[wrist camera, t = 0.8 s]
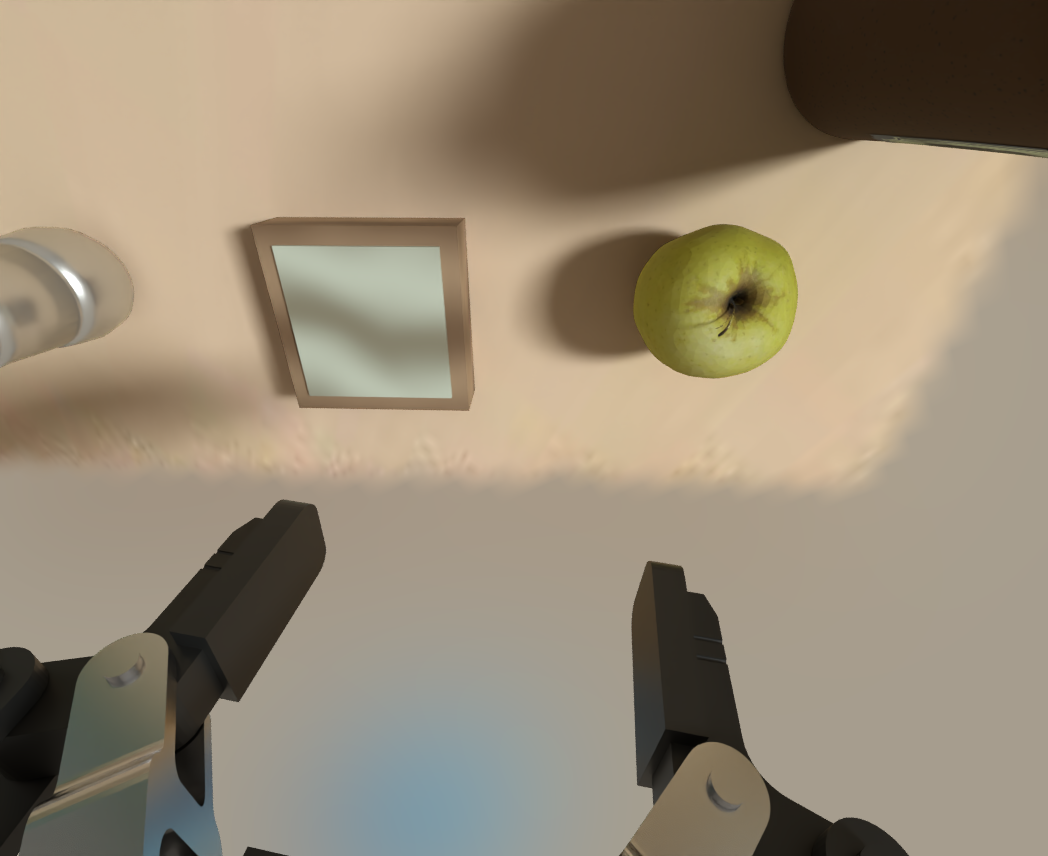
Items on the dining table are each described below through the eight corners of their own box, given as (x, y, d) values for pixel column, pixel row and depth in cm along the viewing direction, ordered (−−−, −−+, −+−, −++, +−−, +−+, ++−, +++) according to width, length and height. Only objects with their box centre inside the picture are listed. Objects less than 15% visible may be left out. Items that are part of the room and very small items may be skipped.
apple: (680, 387, 32) (698, 431, 23) (610, 286, 31) (599, 289, 22) (797, 314, 29) (872, 329, 20) (724, 201, 28) (767, 162, 19)
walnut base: (277, 217, 28) (248, 226, 26) (464, 218, 28) (455, 227, 25) (318, 387, 34) (297, 409, 31) (474, 389, 34) (468, 412, 31)
